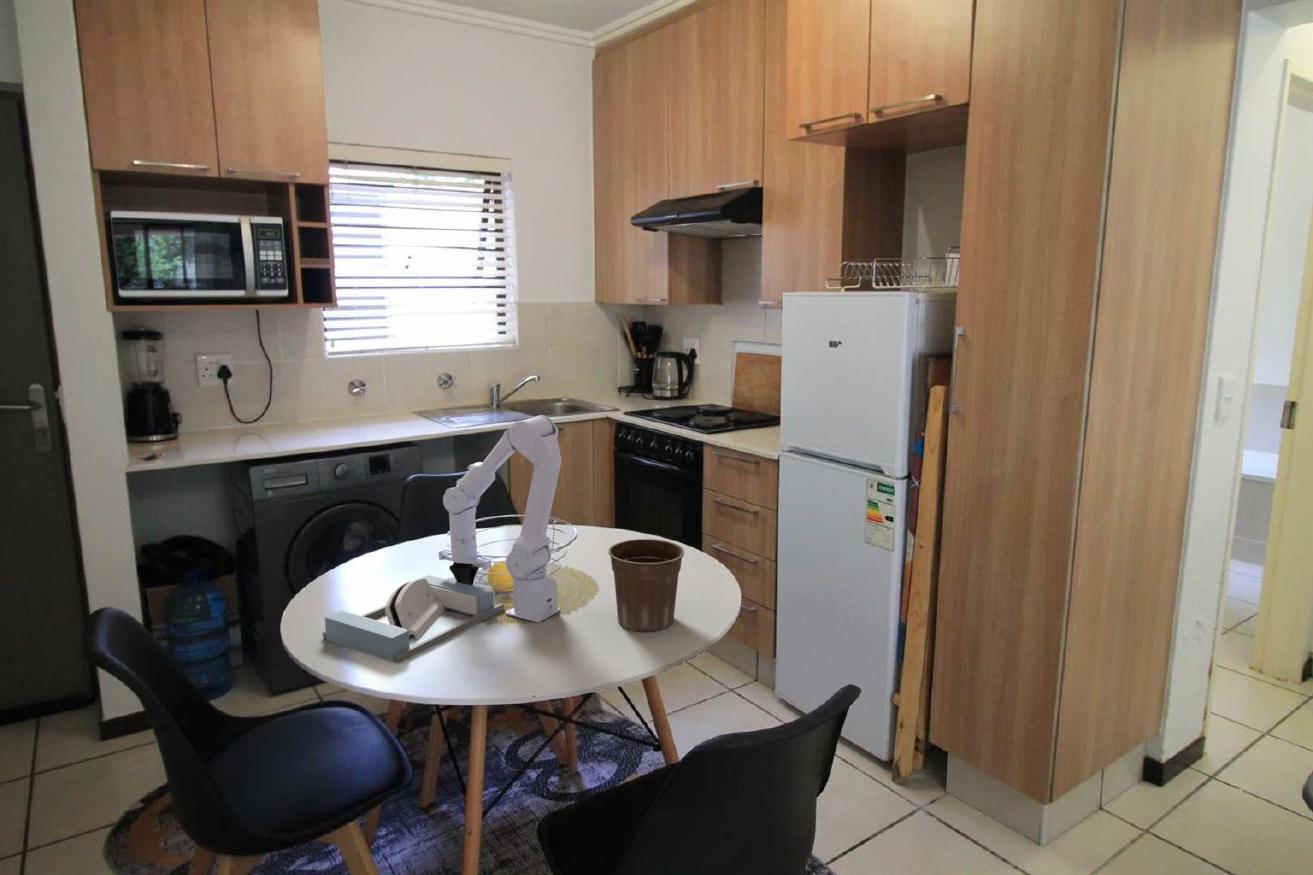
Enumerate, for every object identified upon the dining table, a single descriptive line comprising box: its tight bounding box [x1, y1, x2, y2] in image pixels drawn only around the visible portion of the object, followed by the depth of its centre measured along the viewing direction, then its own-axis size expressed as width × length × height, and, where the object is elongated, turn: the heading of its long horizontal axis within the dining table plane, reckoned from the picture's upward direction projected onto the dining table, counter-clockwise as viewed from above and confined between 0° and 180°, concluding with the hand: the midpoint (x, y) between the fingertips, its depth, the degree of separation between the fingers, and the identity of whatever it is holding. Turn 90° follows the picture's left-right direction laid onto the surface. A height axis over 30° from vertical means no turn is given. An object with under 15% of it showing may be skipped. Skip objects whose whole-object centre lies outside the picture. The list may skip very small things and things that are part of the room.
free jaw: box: [417, 574, 495, 617], centre depth 179 cm, size 20×4×5 cm, turn 59°
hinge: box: [384, 578, 446, 641], centre depth 170 cm, size 17×5×10 cm, turn 175°
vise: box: [322, 603, 505, 664], centre depth 170 cm, size 22×30×5 cm
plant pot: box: [607, 538, 685, 632], centre depth 170 cm, size 16×16×16 cm
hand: (466, 593), depth 183 cm, fingers closed, pressing on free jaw
